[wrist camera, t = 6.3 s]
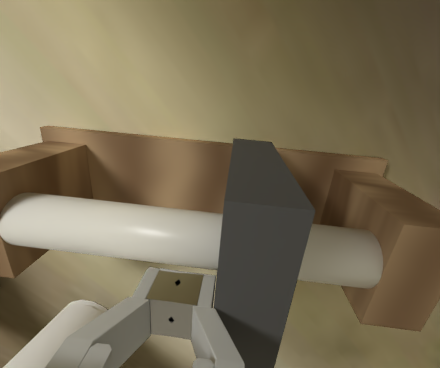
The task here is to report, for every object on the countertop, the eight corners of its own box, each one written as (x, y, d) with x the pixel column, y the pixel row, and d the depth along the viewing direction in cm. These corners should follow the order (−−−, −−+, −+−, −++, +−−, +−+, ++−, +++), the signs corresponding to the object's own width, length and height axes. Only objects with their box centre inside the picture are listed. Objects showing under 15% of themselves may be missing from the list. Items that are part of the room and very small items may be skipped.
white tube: (24, 224, 15) (-31, 257, 12) (11, 177, 14) (-54, 200, 11) (374, 265, 14) (412, 314, 11) (394, 218, 13) (443, 257, 10)
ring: (221, 255, 19) (204, 399, 10) (233, 138, 15) (224, 200, 6) (252, 258, 19) (262, 408, 10) (271, 142, 15) (315, 210, 6)
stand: (65, 213, 21) (-39, 283, 13) (48, 125, 18) (-98, 149, 10) (350, 246, 20) (422, 345, 12) (382, 158, 17) (503, 212, 9)
